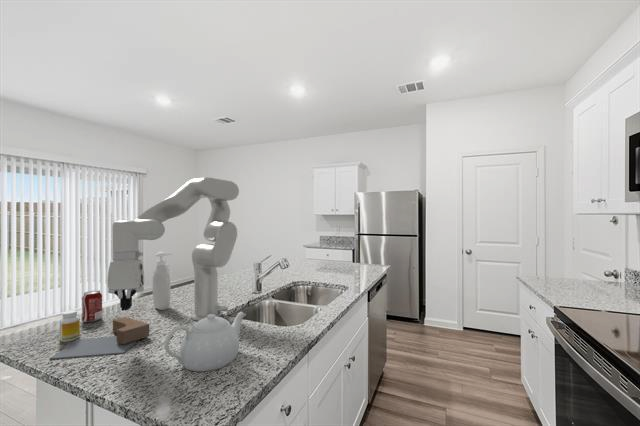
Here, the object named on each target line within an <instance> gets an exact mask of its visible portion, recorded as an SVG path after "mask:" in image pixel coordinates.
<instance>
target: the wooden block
mask: <svg viewBox="0 0 640 426" xmlns="http://www.w3.org/2000/svg"><path fill="white" fill-rule="evenodd" d="M112 332H114V333H116V336H117V343H120V344H122V345H123V344H126V343H130V342H133V341H136V340H138V341H139V340H141V339H144V338H147V337H150V324H149V323H147V322H144V321H140V320H137V319H133V318H130V317H127V316H123V317H119V318H114V319H113V320H112Z"/></svg>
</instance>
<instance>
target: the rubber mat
mask: <svg viewBox="0 0 640 426" xmlns="http://www.w3.org/2000/svg"><path fill="white" fill-rule="evenodd" d="M136 341H137V340H136ZM136 341H133V342H130V343H126V344H123V345H122V344H120V343H117V335H116V336H115V335H114V336H104V337H103V336H101V337H90V338H89V337H87V338H77V339H76V340H74V342H73V343H71V344H69V345H68V346H66V347H65V348H63V349H61V350H60V351H59V352H57V353H55V354H54V355H52V356H51V357H50V358H49V360H51V361H52V360H63V359H73V358H75V359H76V358H83V357H84V358H85V357H97V356H98V357H99V356H108V355H109V356H111V355H121V354H126V353H127V351H128V350H129V349H130V348H131V347H133V346H134V345H135V343H137V342H136Z"/></svg>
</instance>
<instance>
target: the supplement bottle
mask: <svg viewBox="0 0 640 426" xmlns="http://www.w3.org/2000/svg"><path fill="white" fill-rule="evenodd" d="M80 322H81V321H80V317H79V316H78V311H77V310H73V309H72V310H67V311H65V312H62V318H61V319H60V321H59V340H60V342H65V343H66V342H72V341H76V340H78V339H80V336H81V335H80V334H81V331H80V330H81V329H80V327H81V324H80Z"/></svg>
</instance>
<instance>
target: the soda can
mask: <svg viewBox="0 0 640 426" xmlns="http://www.w3.org/2000/svg"><path fill="white" fill-rule="evenodd" d="M102 318H103V294H102V293H101V291H100V289H99V290H89V291H85V292H84V293H83V296H82V297H81V320H82V321H81V322H85V323H93V322H92V321H94V322H97V320H98V321H99V320H100V319H102Z"/></svg>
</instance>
